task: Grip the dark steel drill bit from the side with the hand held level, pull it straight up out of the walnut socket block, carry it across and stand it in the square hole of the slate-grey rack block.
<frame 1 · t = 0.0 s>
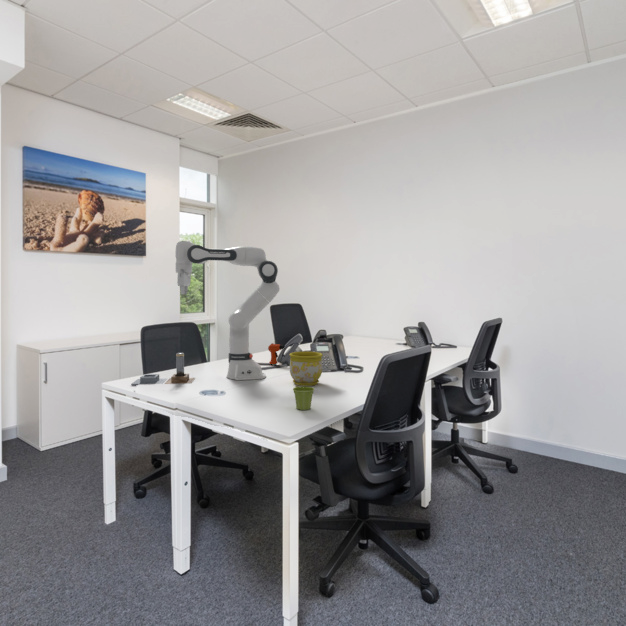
hand: (184, 294, 244), 48 cm above the table, tool pointing down, fingers open, 8 cm apart
flowerpot: (305, 383, 236), on the table
socket block: (180, 382, 235), on the table
plant pot: (303, 408, 187), on the table
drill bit: (180, 380, 235), point 1 cm above the table, touching socket block
toy drill: (279, 365, 289), on the table
rack block: (149, 383, 234), on the table
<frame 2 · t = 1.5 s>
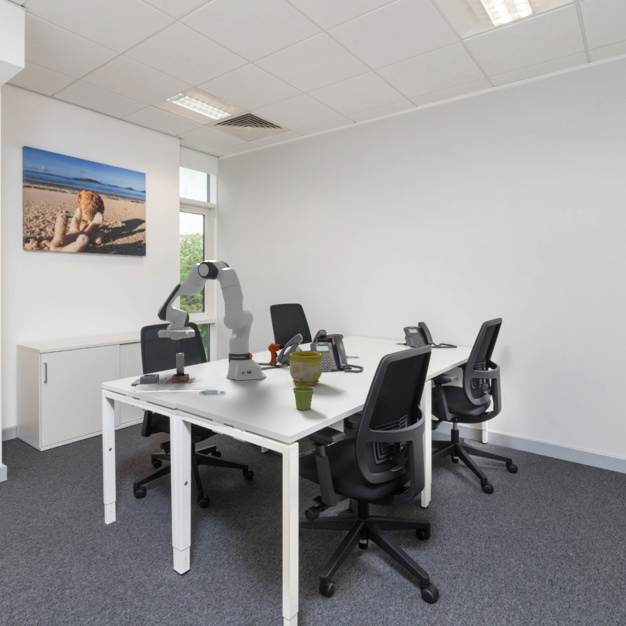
hand: (177, 335, 245), 25 cm above the table, tool horizontal, fingers open, 8 cm apart
nothing on the table moved.
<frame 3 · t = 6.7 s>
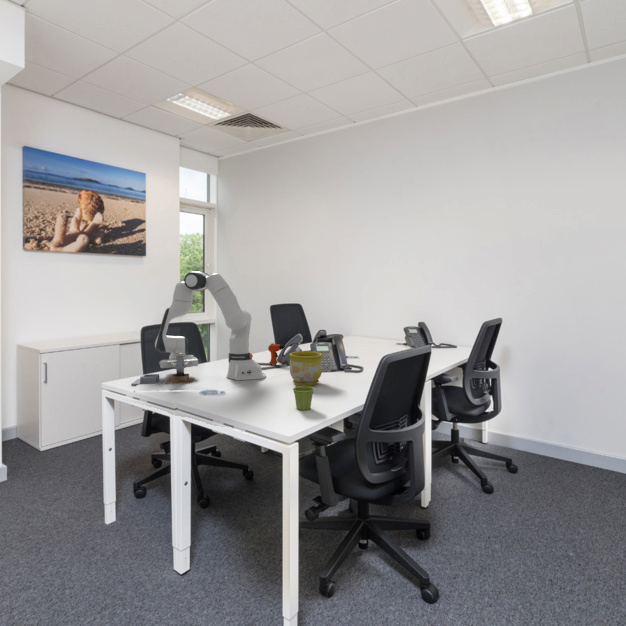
hand: (180, 365, 234), 10 cm above the table, tool horizontal, fingers closed on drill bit, 4 cm apart
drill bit: (180, 380, 235), point 1 cm above the table, touching gripper, socket block
everything else where it was.
when the fingers open (11 cm above the table, at t = 11.5 s): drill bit drops 1 cm, resting on rack block.
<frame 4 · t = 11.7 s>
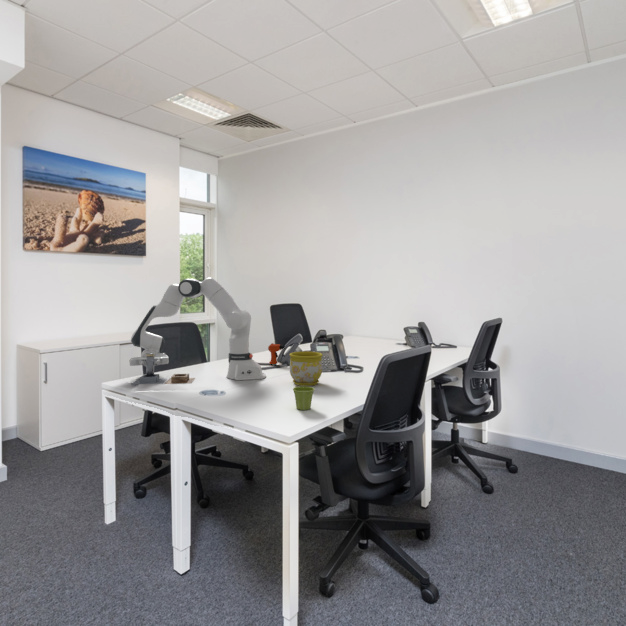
hand: (149, 363, 232), 11 cm above the table, tool horizontal, fingers open, 6 cm apart
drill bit: (150, 381, 233), point 1 cm above the table, touching rack block
everything else where it was.
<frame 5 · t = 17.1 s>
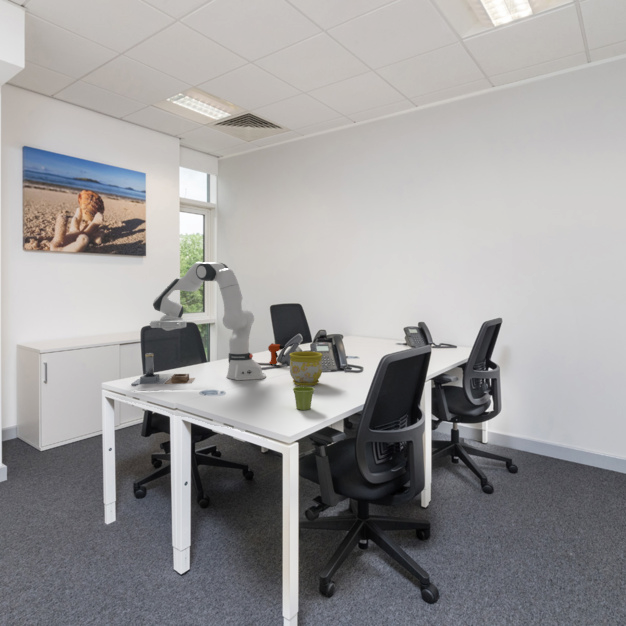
hand: (169, 325, 249), 30 cm above the table, tool horizontal, fingers open, 8 cm apart
nothing on the table moved.
at the end: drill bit 0.0 cm off-centre on the rack block, point 1.0 cm above the rack block's base; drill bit tilted 1°; the gripper is holding nothing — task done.
